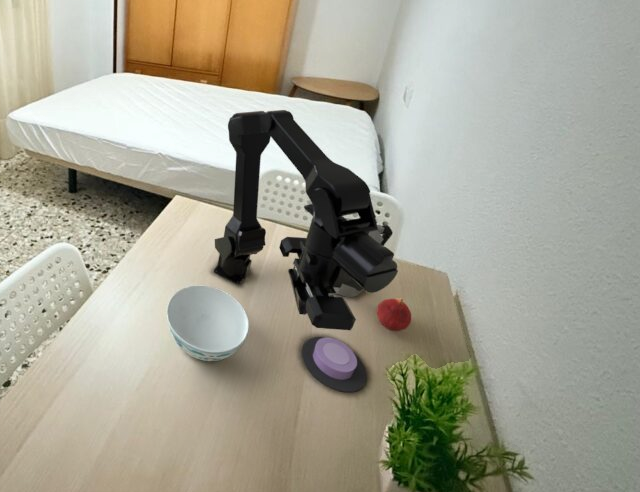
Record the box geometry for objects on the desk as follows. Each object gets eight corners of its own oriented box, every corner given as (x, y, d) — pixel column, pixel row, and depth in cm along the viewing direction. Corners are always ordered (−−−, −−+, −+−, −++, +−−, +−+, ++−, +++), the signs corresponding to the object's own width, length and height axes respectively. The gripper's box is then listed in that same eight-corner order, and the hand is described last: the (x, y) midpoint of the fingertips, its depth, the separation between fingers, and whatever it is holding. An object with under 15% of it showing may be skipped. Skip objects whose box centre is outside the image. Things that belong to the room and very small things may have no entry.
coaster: (294, 367, 74) (294, 366, 74) (310, 327, 82) (311, 326, 82) (359, 405, 68) (360, 404, 68) (370, 359, 76) (371, 358, 76)
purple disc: (308, 364, 74) (311, 355, 73) (318, 338, 79) (321, 330, 78) (349, 387, 70) (353, 379, 69) (357, 359, 76) (360, 351, 75)
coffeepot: (327, 301, 88) (351, 236, 80) (303, 271, 96) (321, 209, 89) (387, 293, 91) (415, 229, 83) (358, 264, 99) (381, 203, 92)
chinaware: (248, 329, 81) (255, 301, 78) (233, 395, 69) (240, 366, 65) (177, 302, 86) (181, 275, 83) (151, 359, 74) (154, 330, 71)
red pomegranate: (409, 342, 80) (423, 313, 76) (377, 336, 81) (390, 307, 77) (397, 318, 85) (410, 290, 81) (368, 313, 86) (379, 285, 82)
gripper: (406, 293, 57) (372, 364, 64) (348, 214, 74) (326, 277, 81) (327, 288, 58) (301, 359, 65) (287, 210, 74) (270, 273, 81)
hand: (301, 312), depth 73 cm, fingers closed
